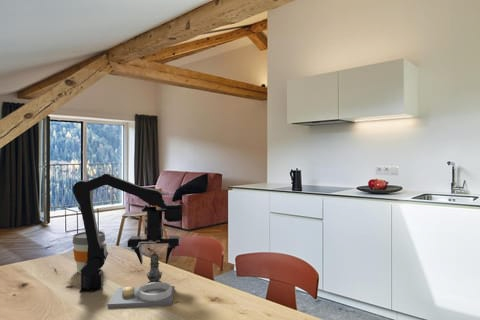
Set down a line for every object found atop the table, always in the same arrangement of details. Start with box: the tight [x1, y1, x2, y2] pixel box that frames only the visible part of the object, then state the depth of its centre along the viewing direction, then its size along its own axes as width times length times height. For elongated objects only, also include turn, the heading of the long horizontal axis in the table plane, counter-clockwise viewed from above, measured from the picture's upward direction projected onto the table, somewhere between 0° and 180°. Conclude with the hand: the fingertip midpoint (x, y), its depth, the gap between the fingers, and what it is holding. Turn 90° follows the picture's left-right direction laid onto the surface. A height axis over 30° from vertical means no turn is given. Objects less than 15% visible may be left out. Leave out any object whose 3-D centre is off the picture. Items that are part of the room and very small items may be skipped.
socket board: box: [107, 281, 176, 309], centre depth 115 cm, size 20×13×3 cm, turn 97°
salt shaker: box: [146, 251, 163, 284], centre depth 128 cm, size 6×6×12 cm
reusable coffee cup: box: [72, 230, 106, 274], centre depth 142 cm, size 13×13×15 cm
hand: (154, 263), depth 128 cm, fingers open, 9 cm apart
